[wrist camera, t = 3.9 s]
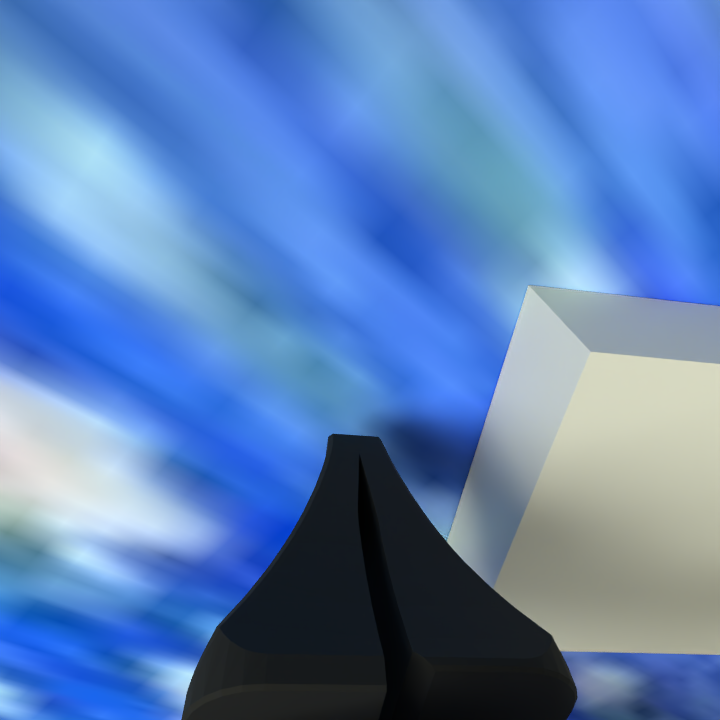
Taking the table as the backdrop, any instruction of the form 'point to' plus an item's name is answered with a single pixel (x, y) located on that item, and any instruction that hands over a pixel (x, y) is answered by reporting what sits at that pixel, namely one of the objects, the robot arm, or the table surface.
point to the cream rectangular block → (603, 474)
